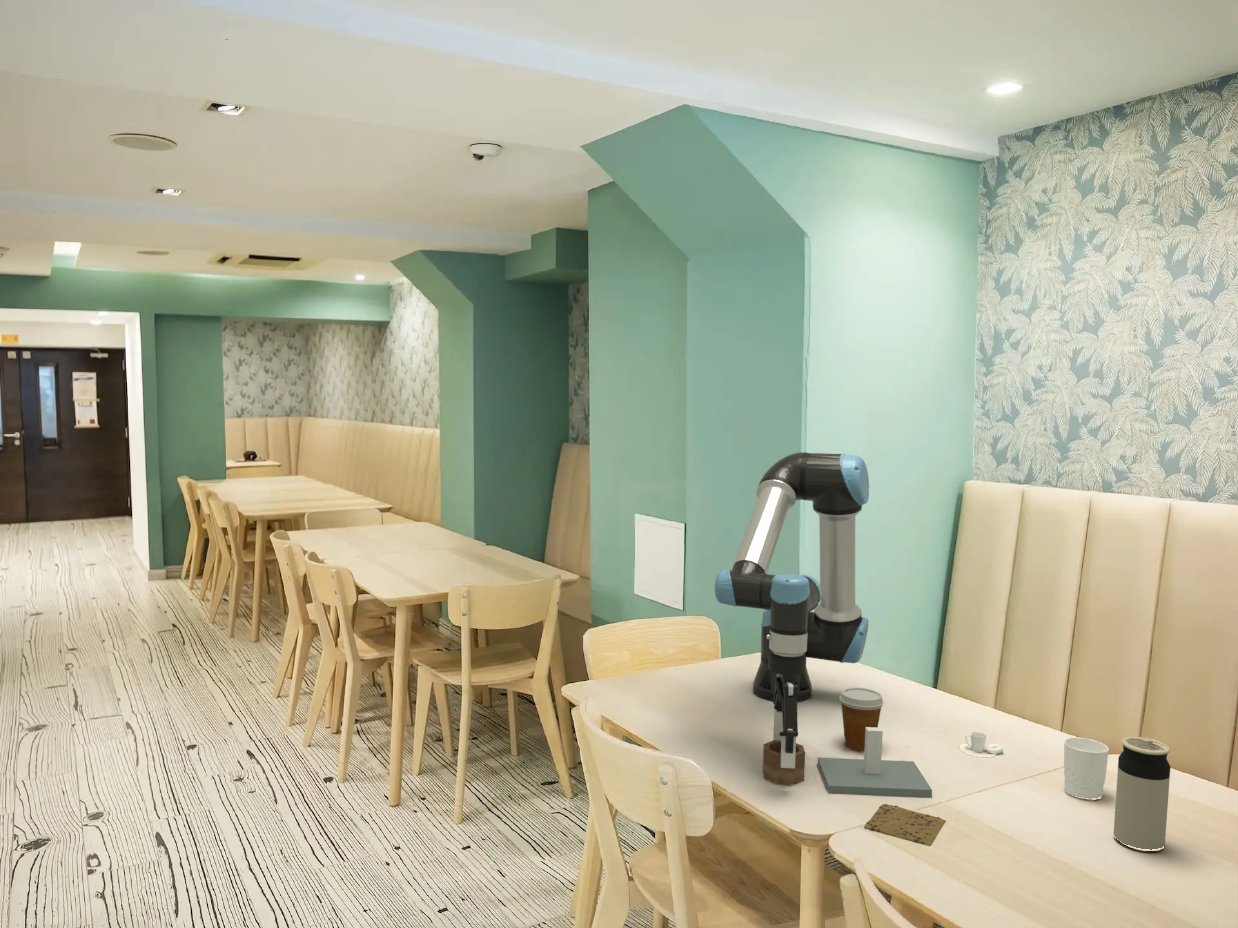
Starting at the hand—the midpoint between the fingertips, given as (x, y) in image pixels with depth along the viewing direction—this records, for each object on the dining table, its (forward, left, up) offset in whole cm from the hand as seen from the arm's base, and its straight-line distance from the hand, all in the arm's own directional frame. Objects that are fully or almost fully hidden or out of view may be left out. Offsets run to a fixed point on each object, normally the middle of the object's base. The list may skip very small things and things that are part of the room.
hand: (783, 754), depth 189 cm
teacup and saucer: (-16, +46, -6) cm, 49 cm away
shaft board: (0, +18, -5) cm, 19 cm away
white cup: (+2, +59, -5) cm, 59 cm away
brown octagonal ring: (0, 0, -5) cm, 5 cm away
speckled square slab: (+19, +20, -5) cm, 28 cm away
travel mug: (+22, +60, -5) cm, 64 cm away
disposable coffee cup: (-18, +19, -5) cm, 27 cm away
